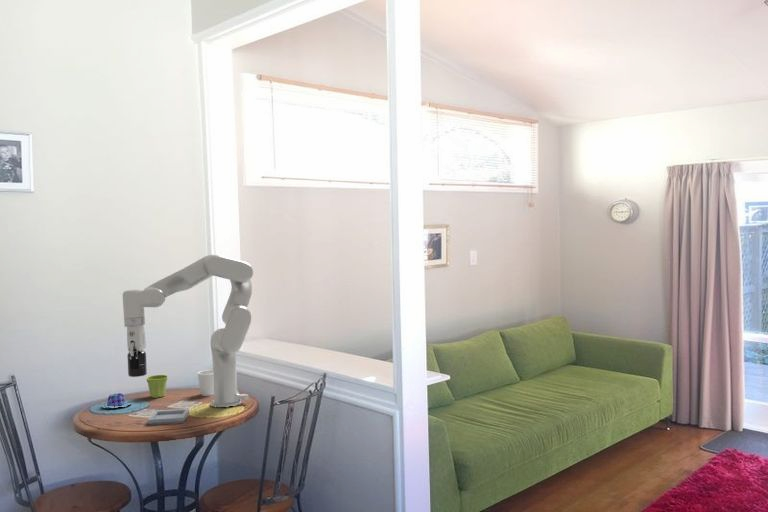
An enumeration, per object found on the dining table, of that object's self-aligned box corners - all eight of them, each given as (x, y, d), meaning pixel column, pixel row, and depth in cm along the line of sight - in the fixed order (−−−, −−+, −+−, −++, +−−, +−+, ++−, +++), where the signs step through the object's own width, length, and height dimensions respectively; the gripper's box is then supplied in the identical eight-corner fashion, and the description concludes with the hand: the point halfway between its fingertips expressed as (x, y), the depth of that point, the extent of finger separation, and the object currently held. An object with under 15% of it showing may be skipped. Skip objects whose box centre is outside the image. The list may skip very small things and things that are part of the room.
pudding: (127, 402, 289) (126, 389, 289) (135, 407, 279) (135, 394, 279) (97, 406, 282) (97, 394, 282) (105, 412, 272) (105, 399, 272)
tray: (189, 413, 265) (189, 408, 265) (183, 422, 252) (183, 417, 252) (155, 415, 263) (155, 410, 263) (147, 425, 250) (147, 419, 250)
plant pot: (164, 398, 291) (163, 379, 291) (143, 399, 292) (142, 379, 291) (171, 393, 301) (171, 374, 301) (151, 394, 301) (150, 375, 301)
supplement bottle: (140, 377, 256) (138, 346, 256) (124, 377, 258) (122, 346, 257) (150, 373, 263) (148, 343, 262) (134, 373, 264) (133, 343, 264)
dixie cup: (218, 391, 302) (218, 369, 302) (215, 396, 294) (214, 373, 293) (200, 392, 301) (199, 370, 301) (196, 397, 293) (195, 374, 293)
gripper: (139, 324, 251) (142, 371, 252) (149, 318, 268) (152, 362, 269) (118, 325, 250) (121, 372, 251) (130, 319, 267) (132, 363, 268)
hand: (137, 366), depth 260 cm, fingers closed on supplement bottle, 6 cm apart
